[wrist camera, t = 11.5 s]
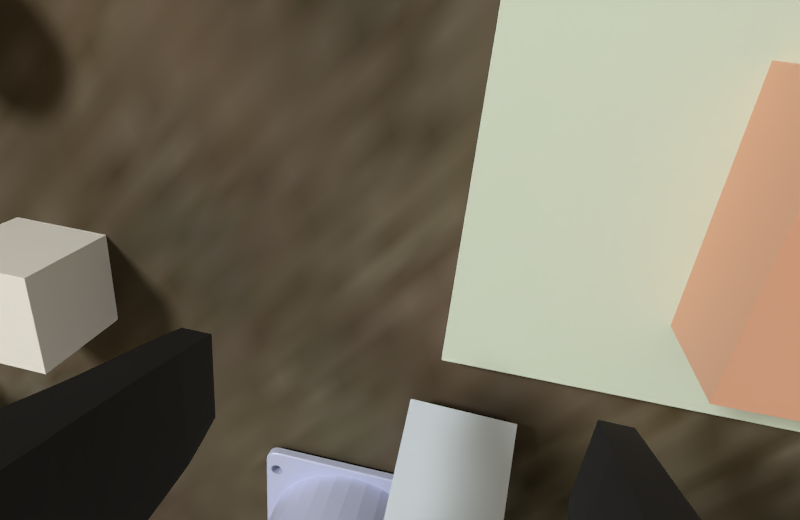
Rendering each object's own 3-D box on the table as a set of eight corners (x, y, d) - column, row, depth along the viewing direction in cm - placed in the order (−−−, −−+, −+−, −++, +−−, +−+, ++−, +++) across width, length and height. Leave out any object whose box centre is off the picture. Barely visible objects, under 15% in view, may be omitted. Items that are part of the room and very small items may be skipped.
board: (976, 449, 18) (1001, 472, 17) (444, 344, 20) (441, 359, 19) (1347, -24, 11) (1417, -27, 11) (517, -94, 14) (517, -102, 13)
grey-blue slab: (482, 602, 19) (490, 613, 17) (374, 571, 19) (369, 579, 17) (508, 431, 21) (517, 424, 19) (411, 407, 22) (410, 398, 20)
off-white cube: (119, 318, 23) (45, 374, 19) (37, 300, 23) (-49, 351, 20) (107, 234, 21) (24, 278, 18) (19, 216, 22) (-79, 255, 18)
